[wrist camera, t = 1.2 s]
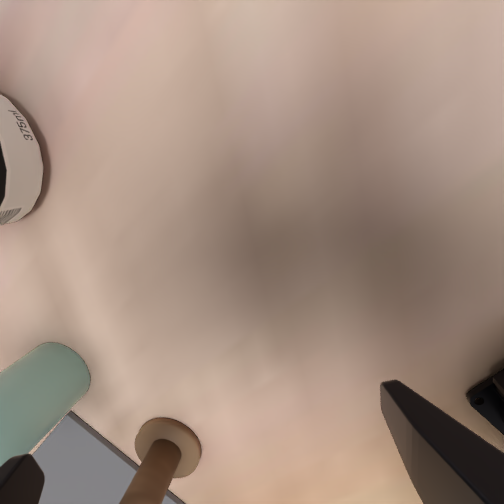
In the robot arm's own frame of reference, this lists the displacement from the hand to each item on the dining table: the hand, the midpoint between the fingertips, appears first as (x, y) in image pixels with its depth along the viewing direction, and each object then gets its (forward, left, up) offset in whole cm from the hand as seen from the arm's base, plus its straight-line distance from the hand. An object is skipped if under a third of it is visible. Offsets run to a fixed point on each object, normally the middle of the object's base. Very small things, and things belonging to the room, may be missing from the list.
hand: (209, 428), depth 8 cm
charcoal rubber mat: (-2, +25, -11) cm, 28 cm away
